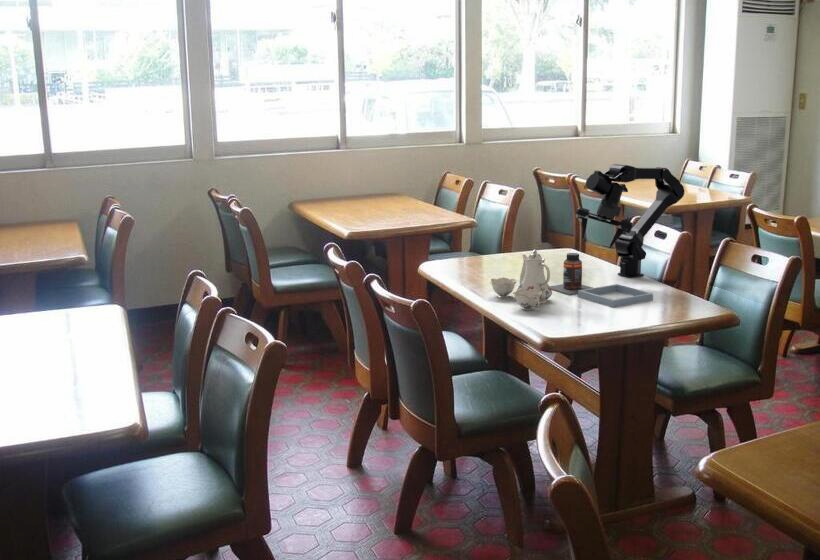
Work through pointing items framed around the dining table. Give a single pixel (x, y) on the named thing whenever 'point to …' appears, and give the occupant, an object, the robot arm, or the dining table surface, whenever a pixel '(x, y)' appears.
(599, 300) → the bin
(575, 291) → the mat
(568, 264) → the supplement bottle
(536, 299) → the chinaware
